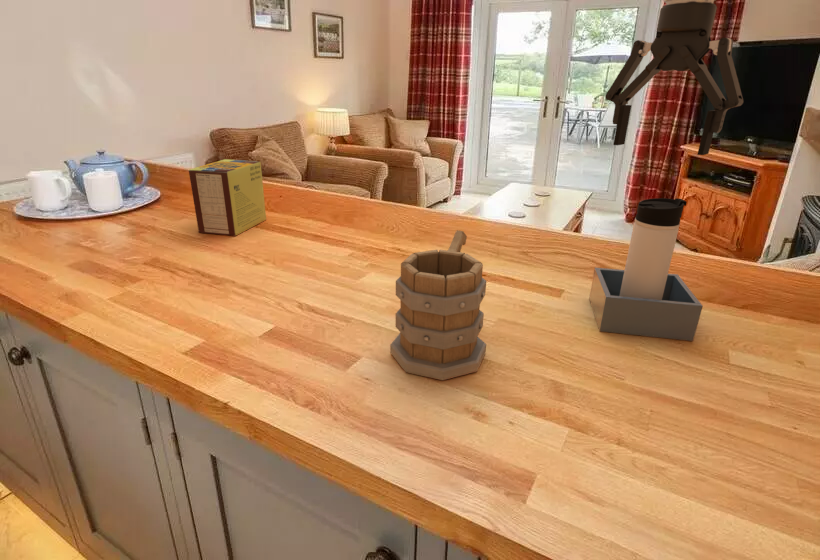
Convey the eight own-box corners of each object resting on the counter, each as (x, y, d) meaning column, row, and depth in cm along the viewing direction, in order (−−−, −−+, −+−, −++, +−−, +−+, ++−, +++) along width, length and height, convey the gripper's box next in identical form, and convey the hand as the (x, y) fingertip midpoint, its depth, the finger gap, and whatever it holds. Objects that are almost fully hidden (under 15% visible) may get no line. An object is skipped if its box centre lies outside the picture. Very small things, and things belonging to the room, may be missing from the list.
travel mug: (665, 327, 79) (696, 205, 71) (624, 326, 79) (650, 204, 71) (648, 309, 84) (674, 195, 76) (610, 309, 84) (632, 194, 77)
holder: (670, 305, 86) (678, 274, 84) (693, 341, 75) (703, 305, 72) (589, 298, 88) (594, 267, 86) (599, 331, 77) (606, 296, 75)
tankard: (470, 387, 63) (478, 279, 57) (379, 367, 67) (378, 264, 61) (500, 320, 80) (508, 231, 74) (426, 307, 84) (429, 222, 78)
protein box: (267, 219, 132) (261, 160, 125) (235, 236, 118) (227, 171, 112) (232, 216, 134) (224, 158, 128) (197, 232, 120) (187, 168, 114)
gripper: (598, 7, 79) (578, 142, 87) (782, -8, 63) (736, 161, 71) (619, 11, 84) (598, 139, 92) (795, -1, 67) (751, 156, 76)
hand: (658, 149), depth 82 cm, fingers open, 13 cm apart
